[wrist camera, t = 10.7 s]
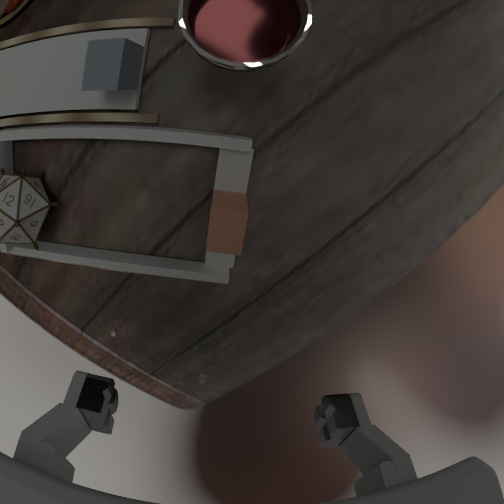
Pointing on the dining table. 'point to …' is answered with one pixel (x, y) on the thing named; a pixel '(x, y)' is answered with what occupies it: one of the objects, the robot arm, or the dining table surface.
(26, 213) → the game die
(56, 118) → the lane rails
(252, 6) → the wineglass
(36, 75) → the inner strip
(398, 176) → the dining table surface
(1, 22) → the toy sandwich meal
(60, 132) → the grey rectangular frame
